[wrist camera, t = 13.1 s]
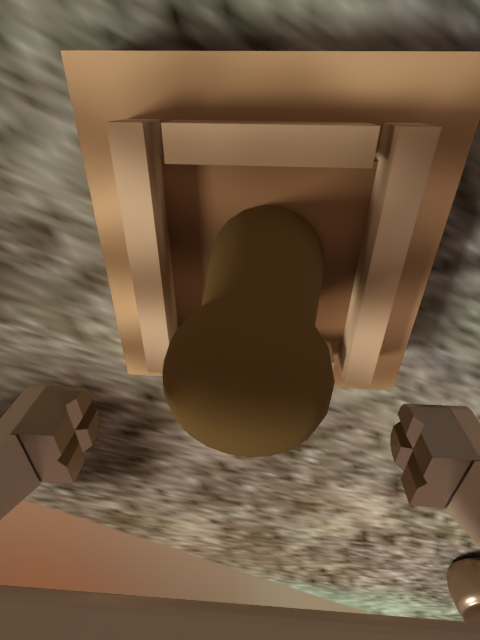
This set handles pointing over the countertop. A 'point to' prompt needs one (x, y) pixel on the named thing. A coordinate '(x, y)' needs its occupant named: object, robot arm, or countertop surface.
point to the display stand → (275, 180)
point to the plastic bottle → (465, 587)
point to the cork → (254, 340)
